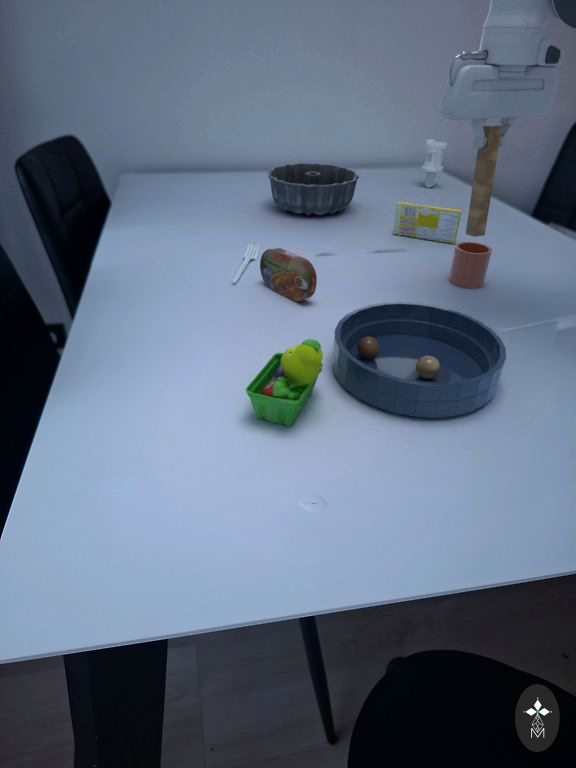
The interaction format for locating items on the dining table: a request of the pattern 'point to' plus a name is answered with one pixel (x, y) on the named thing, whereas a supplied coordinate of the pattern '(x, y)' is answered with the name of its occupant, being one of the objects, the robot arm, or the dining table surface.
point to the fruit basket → (286, 383)
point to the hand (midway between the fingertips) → (488, 147)
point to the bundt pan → (312, 187)
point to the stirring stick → (483, 182)
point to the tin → (288, 274)
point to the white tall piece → (433, 160)
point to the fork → (246, 261)
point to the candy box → (427, 222)
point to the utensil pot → (469, 264)
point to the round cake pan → (406, 346)
